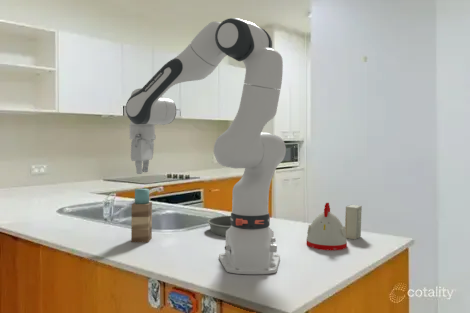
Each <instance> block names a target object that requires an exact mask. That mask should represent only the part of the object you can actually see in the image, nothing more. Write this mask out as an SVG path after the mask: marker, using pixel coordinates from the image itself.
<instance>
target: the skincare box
mask: <svg viewBox="0 0 470 313" xmlns="http://www.w3.org/2000/svg"><path fill="white" fill-rule="evenodd" d="M362 206H363V205H360V204H359V205H357V204H349V205H347V206H345V217H344V218H345V222H344V226H345V230H346V239H349V240H358V239H359V238H361V236H362V235H361V233H362V212H363V211H362V208H363V207H362Z"/></svg>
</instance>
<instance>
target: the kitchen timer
mask: <svg viewBox="0 0 470 313" xmlns="http://www.w3.org/2000/svg"><path fill="white" fill-rule="evenodd" d="M347 244H348V240H347V238H346V230H345V225H344V226H343V224H342V222H341V219H339V218H338V217H337V215H335V214H334V213H332V212H331V208H330V203H329V202H325V204H324V209H323V212H321V213H320V214H318V215H317V216H315V218H314V219H313V220H312V222H311V224H309V225H308V228H307V236H306V246H308V247H310V248H312V249H314V250H315V249H316V250H323V251H341V250H344V249H347V247H348V246H347Z"/></svg>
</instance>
